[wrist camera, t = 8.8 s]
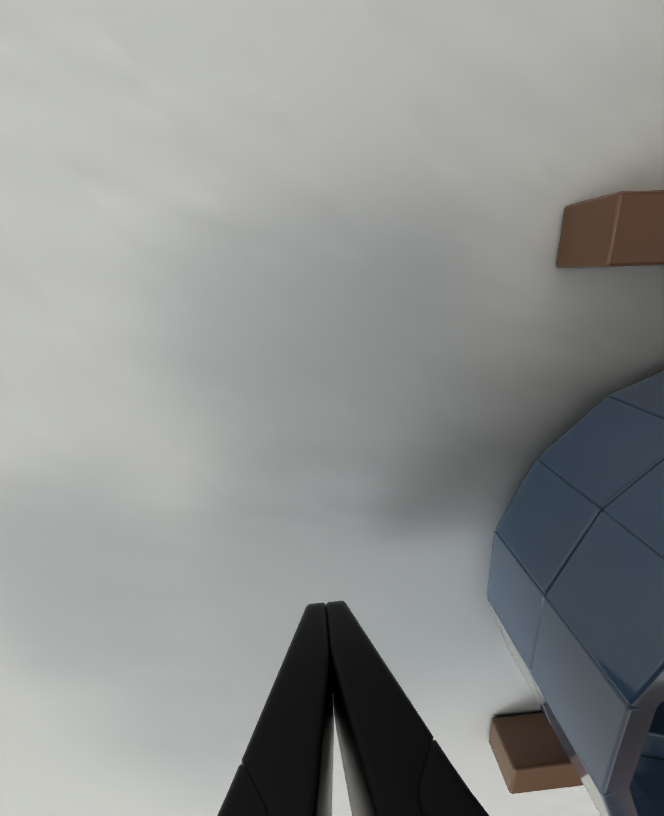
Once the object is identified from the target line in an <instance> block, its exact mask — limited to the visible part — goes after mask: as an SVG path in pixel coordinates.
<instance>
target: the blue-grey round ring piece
mask: <svg viewBox="0 0 664 816" xmlns="http://www.w3.org/2000/svg"><path fill="white" fill-rule="evenodd" d="M538 459H539V460H535V461H534V463H533V464H532V466H531V468H530V470H529V471H528V473H527V475H526V477H525V478H524V480H523V482H522V484H521V485H520V487H519V489H518V491H517V492H516V494H515V496H514V497H513V499H512V501H511V503H510V504H509V506H508V508H507V510H506V511H505V513H504V515H503V517H502V518H501V520H500V522H499V523H498V525H497V527H496V531H495V532H494V538H493V547H492V555H491V563H490V572H489V580H488V588H487V596H488V601H489V604H490V606H491V608H492V611H493V613H494V616H495V618H496V621H497V623H498V626H499V628H500V630H501V633H502V635H503V638H504V640H505V643H506V645H507V647H508V649H509V651H510V653H511V654H512V656H513V658H514V660H515V662H516V663H517V665H518V667H519V669H520V671H521V672H522V674H523V676H524V678H525V680H526V681H527V683H528V685H529V687H530V689H531V690H532V692H533V694H534V696H535V698H536V700H537V701H538V703H539V705H540V707H541V709H542V710H543V712H544V714H545V716H546V718H547V719H548V721H549V723H550V724H551V726H552V728H553V730H554V732H555V734H556V736H557V737H558V739H559V741H560V743H561V745H562V746H563V748H564V750H565V752H566V754H567V755H568V757H569V759H570V761H571V763H572V765H573V766H574V768H575V770H576V772H577V774H578V775H579V777H580V779H581V781H582V783H583V784H584V786H585V788H586V790H587V792H588V793H589V795H590V797H591V799H592V801H593V802H594V804H595V806H596V808H597V810H598V811H599V813H600V815H601V816H664V701H663V700H664V371H662V372H660V373H657V374H655V375H653V376H651V377H648V378H646V379H644V380H641V381H639V382H637V383H635V384H632V385H630V386H628V387H625V388H623V389H621V390H618V391H616V392H614V393H612V394H610V395H609V397H607V398H605V399H604V400H603V401H601V402H600V403H599V404H598V405H597V406H596V407H595V408H594V409H592V410H591V411H590V412H589V413H588V414H587V415H586V416H584V417H583V418H582V419H581V420H580V421H579V422H578V423H576V424H575V425H574V426H573V427H572V428H571V429H570V430H568V431H567V432H566V433H565V434H564V435H563V436H562V437H561V438H559V439H558V440H557V441H556V442H555V443H554V444H553V445H551V446H550V447H549V448H548V449H547V450H546V451H545V452H543V453H542V454H541V455H540V456H539V458H538Z"/></svg>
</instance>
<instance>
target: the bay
mask: <svg viewBox="0 0 664 816" xmlns="http://www.w3.org/2000/svg"><path fill="white" fill-rule="evenodd" d="M662 264H664V190H654V191H621V192H617V193H613V194H609V195H605V196H602V197H598V198H594V199H590V200H586V201H582V202H578V203H575V204H571V205H568V206H566V207H565V210H564V217H563V224H562V231H561V238H560V245H559V252H558V259H557V267H559V268H574V267H610V266H636V265H662ZM489 743H490V745H491V748H492V750H493V753H494V755H495V758H496V760H497V763H498V765H499V768H500V770H501V773H502V775H503V777H504V780H505V782H506V785H507V787H508V790H509V792H510V793H512V794H514V793H523V792H531V791H539V790H547V789H556V788H564V787H572V786H580V785H584V784H583V783H582V781H581V779H580V777H579V775H578V774H577V772H576V770H575V768H574V766H573V765H572V763H571V761H570V759H569V757H568V755H567V754H566V752H565V750H564V748H563V746H562V745H561V743H560V741H559V739H558V737H557V736H556V734H555V732H554V730H553V728H552V726H551V724H550V723H549V721H548V719H547V718H546V716H545V714H544V712H541V713H531V714H522V715H513V716H504V717H495V718H493V719H492V722H491V729H490V736H489Z"/></svg>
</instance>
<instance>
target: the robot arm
mask: <svg viewBox="0 0 664 816" xmlns="http://www.w3.org/2000/svg"><path fill="white" fill-rule="evenodd" d="M332 694H333V696H332ZM333 707H334V714H333ZM334 716H335V723H336V729H337V735H338V740H339V746H340V751H341V757H342V762H343V768H344V773H345V778H346V784H347V789H348V795H349V800H350V806H351V811H352V816H489V815H488V813H487V812H486V811H485V810H484V808H483V807H482V806H481V804H480V803H479V802H478V800H477V799H476V798H475V797H474V795H473V794H472V793H471V791H470V790H469V788H468V787H467V786H466V784H465V783H464V781H463V780H462V778H461V777H460V775H459V774H458V773H457V771H456V770H455V768H454V767H453V765H452V764H451V763H450V761H449V760H448V758H447V757H446V755H445V753H444V752H443V750H442V749H441V747H440V746H439V744H438V743H437V741H436V740H433V736H432V734H431V732H430V731H429V729H428V728H427V726H426V725H425V723H424V722H423V720H422V719H421V717H420V716H419V714H418V713H417V711H416V710H415V708H414V707H413V705H412V704H411V702H410V700H409V699H408V697H407V696H406V694H405V693H404V691H403V690H402V688H401V687H400V685H399V684H398V682H397V681H396V679H395V678H394V676H393V675H392V673H391V672H390V670H389V668H388V667H387V665H386V664H385V662H384V661H383V659H382V658H381V656H380V655H379V653H378V652H377V650H376V649H375V647H374V646H373V644H372V643H371V641H370V640H369V638H368V636H367V635H366V633H365V632H364V630H363V629H362V627H361V626H360V624H359V623H358V621H357V620H356V618H355V617H354V615H353V614H352V612H351V611H350V609H349V608H348V606H347V604H346V603H345V602H344V601H335V602H328V603H327V604H326V605H325V604H324V603H315V604H309V605H307V607H306V609H305V611H304V613H303V616H302V618H301V621H300V623H299V625H298V628H297V630H296V632H295V635H294V637H293V640H292V642H291V644H290V647H289V649H288V651H287V654H286V656H285V659H284V661H283V663H282V666H281V668H280V670H279V673H278V675H277V678H276V680H275V682H274V685H273V687H272V689H271V692H270V694H269V697H268V699H267V701H266V704H265V706H264V708H263V711H262V713H261V716H260V718H259V720H258V723H257V725H256V727H255V730H254V732H253V735H252V737H251V739H250V742H249V744H248V746H247V749H246V751H245V754H244V756H243V758H242V764H241V765H239V767H238V770H237V772H236V774H235V777H234V779H233V782H232V784H231V786H230V789H229V791H228V793H227V795H226V798H225V800H224V802H223V804H222V806H221V809H220V811H219V813H218V815H217V816H332V780H333V740H334Z"/></svg>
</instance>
